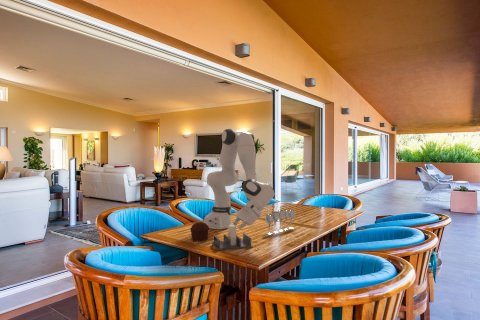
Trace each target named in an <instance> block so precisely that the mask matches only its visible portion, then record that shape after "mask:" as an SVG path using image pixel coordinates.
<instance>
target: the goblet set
mask: <svg viewBox="0 0 480 320" xmlns="http://www.w3.org/2000/svg"><path fill="white" fill-rule="evenodd" d="M295 217H296V211H295V210H293V209H284V210H280V209H278V210H277V211H276V210H275V211H271V212H270V214H265V218H264V219H265V222H266V223H267V226H268V229H270V226H271V224H272V222H273V224H274V226H276V224H277V221H278V220H279V226H280V228H279V229H277V231H276V230H272V231H268V232H265V234H266V235H273V233H274V234H277V233H279V232H284V231H287V230H289V229H290V230H293V229H295V227H294V226H289V227H285V228H283V229H282V228H281V226H282V225H281V224H282V220H283V218H284V221H285V223H287V219H289V220H290V223H292V221H293V219H294V218H295Z"/></svg>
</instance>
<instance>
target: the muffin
mask: <svg viewBox="0 0 480 320" xmlns="http://www.w3.org/2000/svg"><path fill="white" fill-rule="evenodd" d="M189 230H190V233H191V239H192V240H191V241H193V242H205V241H207V240H208V237H209V231H210V228H209V227H208V225H207V224H205V223H204V221H198V222H197V221H196V222H194V223H193V224H192V225H191V227H190V229H189Z"/></svg>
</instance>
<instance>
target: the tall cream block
mask: <svg viewBox="0 0 480 320" xmlns="http://www.w3.org/2000/svg"><path fill="white" fill-rule="evenodd" d="M227 232H228V235H227V237H228V238H230V239H231V245H236V235H237V225H236V226H235V225H233V224H232V225H228V228H227Z"/></svg>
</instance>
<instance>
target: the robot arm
mask: <svg viewBox="0 0 480 320" xmlns="http://www.w3.org/2000/svg"><path fill="white" fill-rule="evenodd" d="M221 142H222V146H221V150H220V154H219V160H218V163H219V165H220V166H221V170H220V171H219V170H216V171H212V172H209V173H208V174H207V176H206V183H207V185H208V186H209V187H210V188H211V190H212V192H213V196H214V205H213V206H212V207H211V212H209V213H208V214H207V215H206V216H205V217H204V219H203V222H204V223H205V224H207V225H208V227H209V229H212V230H222V229H223V230H224V229H228V225H235V226H236V227H237V228H238V230H242V229H243V228H245V227H246V226H249V227H250V226H253V224H254V223H255V222H256V221H257V220H258V219H259V217H262V216H263V213H262V211H263V209H264V208H265V206H268V204H269V203H270V202H271V201H272V200H273V198H274V197H275V190H274V188H273V187H272V186H271V185H270V184H268V183H264V182H259V181H258V179H257V174H256V157H257V156H256V154H257V153H256V152H257V151H256V146H255V136H254V134H253V133H251V132H250V131H246V130H242V129H232V128H226V129H224V130H223V132H222V134H221ZM237 155H238V159H239V162H240V163H241V166H242V168H243V170H244V174H245V178H246V179H245V181H244V182H243V184H242V191H243V193H244V196H245V198H246V200H247V203H246V204H245V206H243V207H241V209H239V211H237V212H236V213H235V217H236V218H235V219H234V221H232V207H231V194H230V193H229V192H228V191H227V189H226V187H230V186H231V187H232V186H234V185H236V184H237V183H238V181H239V180H238V179H239V177H238V174H237V173H236V171H235V169H236V168H235V165H236V160H237ZM240 221H241V222H242V223H241V224H239V225H238V223H239V222H240ZM237 225H238V226H237Z"/></svg>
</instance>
